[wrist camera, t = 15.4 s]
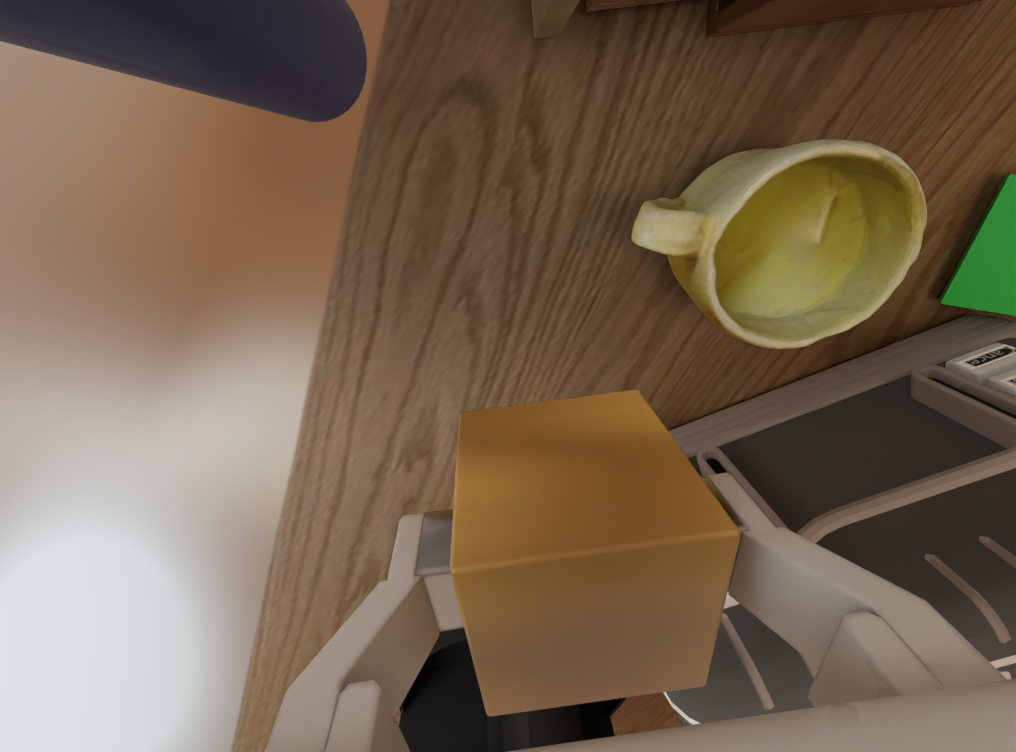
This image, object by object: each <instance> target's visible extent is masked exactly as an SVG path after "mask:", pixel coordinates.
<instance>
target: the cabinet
mask: <svg viewBox="0 0 1016 752" xmlns="http://www.w3.org/2000/svg"><path fill="white" fill-rule="evenodd" d="M978 1H981V0H710V5H709V17H708V28H707V37H713V36H721V35H729V34H737V33H745V32H753V31H761V30H769V29H777V28H785V27H793V26H801V25H809V24H817V23H825V22H833V21H841V20H849V19H857V18H865V17H873V16H881V15H889V14H897V13H905V12H913V11H921V10H929V9H937V8H945V7H953V6H961V5H969V4H972V3H975V2H978Z"/></svg>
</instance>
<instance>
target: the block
mask: <svg viewBox="0 0 1016 752" xmlns="http://www.w3.org/2000/svg"><path fill="white" fill-rule="evenodd" d="M739 540H740V531H739V529H738V528H737V526H736V525H735V523H734V522H733V521H732V519H731V518H730V516H729V515H728V514H727V512H726V511H725V510H724V508H723V507H722V505H721V504H720V503H719V501H718V500H717V498H716V497H715V496H714V494H713V493H712V492H711V490H710V489H709V487H708V486H707V485H706V483H705V482H704V481H703V479H702V478H701V476H700V475H699V474H698V472H697V471H696V469H695V468H694V467H693V465H692V464H691V463H690V461H689V460H688V458H687V457H686V456H685V454H684V453H683V451H682V450H681V449H680V447H679V446H678V445H677V443H676V442H675V440H674V439H673V438H672V436H671V435H670V433H669V432H668V431H667V429H666V428H665V427H664V425H663V424H662V422H661V421H660V420H659V418H658V417H657V416H656V414H655V413H654V411H653V410H652V409H651V407H650V406H649V404H648V403H647V402H646V400H645V399H644V398H643V396H642V395H641V393H640V392H639V391H638V390H629V391H622V392H614V393H606V394H598V395H590V396H582V397H574V398H567V399H559V400H551V401H543V402H535V403H527V404H520V405H512V406H504V407H496V408H488V409H480V410H472V411H465V412H461V413H459V420H458V437H457V454H456V471H455V488H454V505H453V522H452V539H451V556H450V574H451V578H452V582H453V586H454V590H455V594H456V598H457V602H458V605H459V609H460V613H461V617H462V621H463V625H464V629H465V633H466V637H467V640H468V644H469V648H470V652H471V656H472V660H473V664H474V668H475V672H476V675H477V679H478V683H479V687H480V691H481V695H482V699H483V703H484V707H485V710H486V713H487V716H490V717H491V716H498V715H505V714H512V713H519V712H526V711H533V710H540V709H548V708H555V707H562V706H569V705H576V704H583V703H590V702H597V701H604V700H611V699H618V698H626V697H633V696H640V695H647V694H654V693H661V692H668V691H675V690H682V689H689V688H696V687H703V686H705V685H706V682H707V677H708V673H709V669H710V664H711V660H712V656H713V651H714V647H715V643H716V639H717V634H718V630H719V626H720V621H721V617H722V613H723V608H724V604H725V600H726V596H727V591H728V587H729V583H730V578H731V574H732V570H733V565H734V561H735V557H736V553H737V548H738V544H739Z"/></svg>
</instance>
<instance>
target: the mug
mask: <svg viewBox="0 0 1016 752" xmlns="http://www.w3.org/2000/svg"><path fill="white" fill-rule="evenodd" d="M926 223H927V207H926V202H925V196H924V193H923V191H922V188H921V185H920V182H919V180H918V179H917V177H916V175H915V173H914V172H913V171H912V170H911V169H910V168H909V166H908V165H907V164H906V163H905V162H904V161H903V160H902V159H901V158H900V157H898V156H897V155H896V154H894V153H892V152H890V151H888V150H886V149H884V148H882V147H879V146H877V145H875V144H872V143H868V142H863V141H857V140H844V139H822V140H814V141H808V142H803V143H798V144H794V145H789V146H785V147H781V148H776V149H771V148H760V149H752V150H746V151H741V152H737V153H734V154H731V155H729V156H727V157H725V158H723V159H721V160H719V161H718V162H716V163H715V164H713V165H712V166H710V167H709V168H707V169H706V170H704V171H703V172H702V173H701V174H700V175H699V176H698V177H697V178H696V179H695V180H694V181H693V182H692V183H691V184H690V185H689V186H688V187H687V188H686V189H685V190H684V192H683V193H682V194H681V195H680V197H678V198H675V199H668V198H658V199H656V200H650V201H645V202H644V203H643V204H642V206H641V208H640V211H639V214H638V216H637V218H636V220H635V222H634V226H633V230H632V242H633V243H634V244H636V245H638V246H640V247H643V248H646V249H649V250H652V251H655V252H659V253H662V254H665V255H667V257H668V260H669V263H670V266H671V269H672V271H673V273H674V275H675V277H676V279H677V281H678V282H679V283H680V285H681V286H682V287H683V289H684V290H685V291H686V293H687V294H688V295H689V296H690V298H691V299H692V300H693V302H694V303H695V304H696V306H697V307H698V308H699V310H700V311H701V312H702V314H703V315H704V316H705V317H706V318H707V319H708V320H709V321H710V322H711V323H713V324H714V325H715V326H716V327H718V328H719V329H720V330H722V331H723V332H725V333H726V334H728V335H730V336H732V337H734V338H736V339H738V340H740V341H743V342H746V343H748V344H751V345H755V346H759V347H764V348H769V349H790V348H801V347H805V346H808V345H810V344H812V343H814V342H816V341H818V340H820V339H823V338H825V337H828V336H831V335H835V334H838V333H842V332H845V331H847V330H849V329H850V328H852V327H854V326H855V325H857V324H859V323H860V322H862V321H864V320H866V319H867V318H869V317H870V316H871V315H872V314H873V313H874V312H875V311H876V310H878V309H879V307H880V306H881V305H882V304H883V303H884V302H885V301H886V300H887V299H888V298H889V297H890V295H891V294H892V293H893V291H894V290H895V289H896V288H897V287H898V285H899V284H900V283H901V282H902V281H903V280H904V278H905V275H906V273H907V271H908V269H909V267H910V265H911V264H912V263H913V262H914V261H915V260H916V259H917V257H918V255H919V251H920V248H921V244H922V238H923V231H924V229H925V226H926Z"/></svg>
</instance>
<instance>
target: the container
mask: <svg viewBox="0 0 1016 752" xmlns="http://www.w3.org/2000/svg"><path fill="white" fill-rule="evenodd" d="M439 634H440V635H439V637H438V639H437V641H436V643H435V644H434V646H433V648H432V650H431V652H430V654H429V655H428V657H427V659H426V661H425V663H424V664H423V666H422V668H421V670H420V672H419V673H418V675H417V677H416V679H415V681H414V683H413V684H412V686H411V688H410V690H409V692H408V693H407V695H406V697H405V699H404V701H403V703H402V704H401V706H400V708H399V709H400V712H401V716H400V723H399V728H400V730H401V732H402V735H403V737H404V739H405V741H406V743H407V745H408V747H409V750H410V752H508V751H515V750H522V749H529V748H536V747H542V746H549V745H556V744H563V743H570V742H577V741H584V740H591V739H598V738H605V737H612V736H615V735H614V731H613V727H612V723H611V719H610V716H611V715H612V714H613V713H614V712H615V711H616V710H617V709H618V708H619V707H620V706H621V705H622V703H623V702H624V700H625V699H626V698H618V699H611V700H604V701H597V702H590V703H583V704H576V705H569V706H562V707H555V708H548V709H540V710H533V711H526V712H519V713H512V714H505V715H498V716H491V717H490V716H487V713H486V710H485V707H484V703H483V699H482V695H481V691H480V687H479V683H478V679H477V675H476V672H475V668H474V664H473V660H472V656H471V652H470V648H469V644H468V640H467V637H466V633H465V629H464V628H460V629H454V630H448V631H442V632H439Z"/></svg>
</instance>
